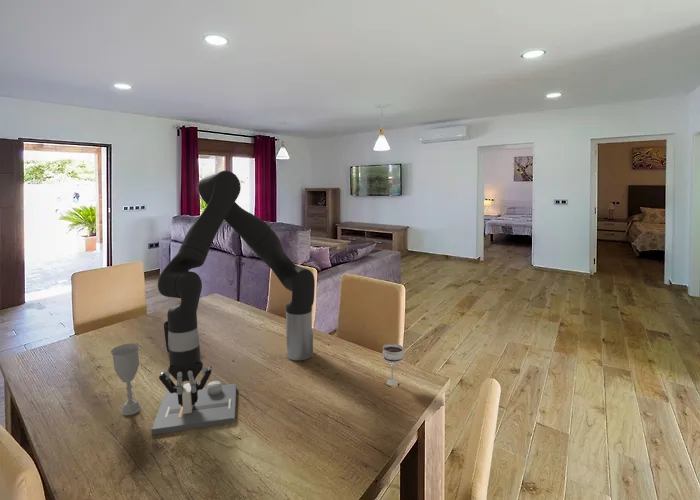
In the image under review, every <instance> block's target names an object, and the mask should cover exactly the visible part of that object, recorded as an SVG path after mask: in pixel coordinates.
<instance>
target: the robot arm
mask: <svg viewBox="0 0 700 500" xmlns="http://www.w3.org/2000/svg"><path fill="white" fill-rule="evenodd" d="M241 189H242V188H241V182H240V179H239V177H238V176H237V175H236V174H235V173H234V172H232V171H230V170H220V171H217V172H215V173H212V174H209V175H207V176H205V177H204V176H203V178H201V179H200V180H199V182H198V184H197V191H198V194H199V196H200V198H201V200H202V201H203V202H204V203H205V204H206V207H205V208H204V210H203V211H202V213H201V214H200V215H199V216H198V218H197V219H196V220H195V221H194V222H193V224H191V226H190V228H189V229H188V231H187V232H186V234H185V236H184V238H183V241H182V243H181V245H180V248H179V249H178V252H177V253H176V254H175V256H174V257H173V258H172V259H171V260H170V261H169V263H168V264H167V265H166V266H165V268H163V270H162V272H161V273H160V275H159V277H158V281H157V288H158V289H157V290H158V292H159V293H160V295H162V296H164V297H167V298H175V299H180V304H178V305H173V306H171V307H170V308H169V309H168V310H167V314H166V315H167V321H168V347H169V350H168V359H169V367H168V369H167V370H165V371H164V370H162V371H161V372H160V374H159V377H158V379H159V380H160V382H161V383H162V384H163V386H164V387H165V388H166V389H167V392H168V391H169V392H170V393H177V394H178V403H179V405H181V407H182V406H183V401H182V392H183V385H184V382H189V383H190V386H191V390H192V393H191V399H192V405H195V403H196V402H197V400H198V390H202V389H203V388H204V387H206V384H207V382H208V380H209V379H210V376H211V374H212V370H213V367H212V366H211V365H208V366H206V365H204V364H203V362H202V360H201V345H200V334H199V328H198V316H197V315H198V314H197V313H198V312H197V311H198V309H199V303H200V302H199V301H200V297H201V293H202V288H203V282H202V279H201V277H200V276H199V274H198V273H197V272H195V271H191V270H193V269H196V268H200V267H202V266H203V265H204V263H205V262H206V259H207V257H208V254H209V252H210V250H211V247H212V245H213V241H214V240H215V238H216V236H217V233H218V231H219V229H220V228H221V225H222V223H223V222H224V221H225V222H226V223H227V224H228V225H229V226H230V227H231V228H232V229H233V230H234V231H235V232H236V234H237V235H238V236H239V237H240V238H241V239H242V240H243V241H244V243H245V244H247V246H248V247H249V248H250V249H251V251H253V252H254V253H255V255H256V256H258V258H260V259H261V261H262V262H264V263H265V264H266V265H267V266H268V267H269V268H270V269H271V271H272V272H273V274H274V275H275V276H276V277H277V279H278V280H279V282H280V283H281V285H282V286H283V287H284V288H285V289H286V290H288V291H290V292H291V300H290V301H288V302H286V305H285V318H286V319H285V321H286V324H285V325H286V357H287V358H288V359H289V360H291V361H296V362H297V361H306V360H308V359H311V358H314V332H313V329H312V328H313V324H312V323H313V317H312V314H313V313H312V312H313V311H312V309H313V305H314V302H315V290H316V289H315V282H316V281H315V276H314V273H313V272H312V271H311V270H310V269H307V268H304V267H302V266H298V265H297V264H296V263H294V262H293V260H292V259H290V258H289V257H288V256H287V254H286V253H285V251H284V249H283V246H282V243H281V240H280V238H279V236H278V235H277V234H276V232H275V231H274V230H273V228H271V226H270V225H269V224H268V223H267V222H266V221H265V220H263V219H261V218H260V217H258V216H257V215H254V214H253V213H251V212H249V211H247V210H245V209H244V208H242V207H241V206H240V205H238V204H239V203H237V202H236V201H237V199H238V198H239V195H240V193H241ZM201 371H202V373H201V374H202V377H201V380H200V381H199V382H197V377H198V375H199V374H200V372H201ZM171 376H172V377H173V378H174V379H175V380H176V383H174V381H173V380H172V378H171Z"/></svg>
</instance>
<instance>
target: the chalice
mask: <svg viewBox="0 0 700 500" xmlns="http://www.w3.org/2000/svg"><path fill="white" fill-rule="evenodd" d="M139 349H141V348H140V345H139V344H138V343H125V344H121V345H118V346H115V347H114V348H112V349H111V350H110V354H111V356H112V358H113V359H112V361H113V369H114V372H115V373H116V375H117V376H118V378H119V379H120V380H121V382H123V383H126V387H125V390H126V394H125V396H126V397H127V401H125V402H124V403H123V404H122V407H121V411H120V414H121V415H122V416H132V415H135V414H137V413H138V412H140V411H141V410H142V406H141V405H140V403H139V401H138V400H136V399H133V394H134V392H133V391H132V388H133V385H132V384H131V382H132V381H133V380H134V379H135V377H136V374H137V372H138V369H139V365H140V359H139Z"/></svg>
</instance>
